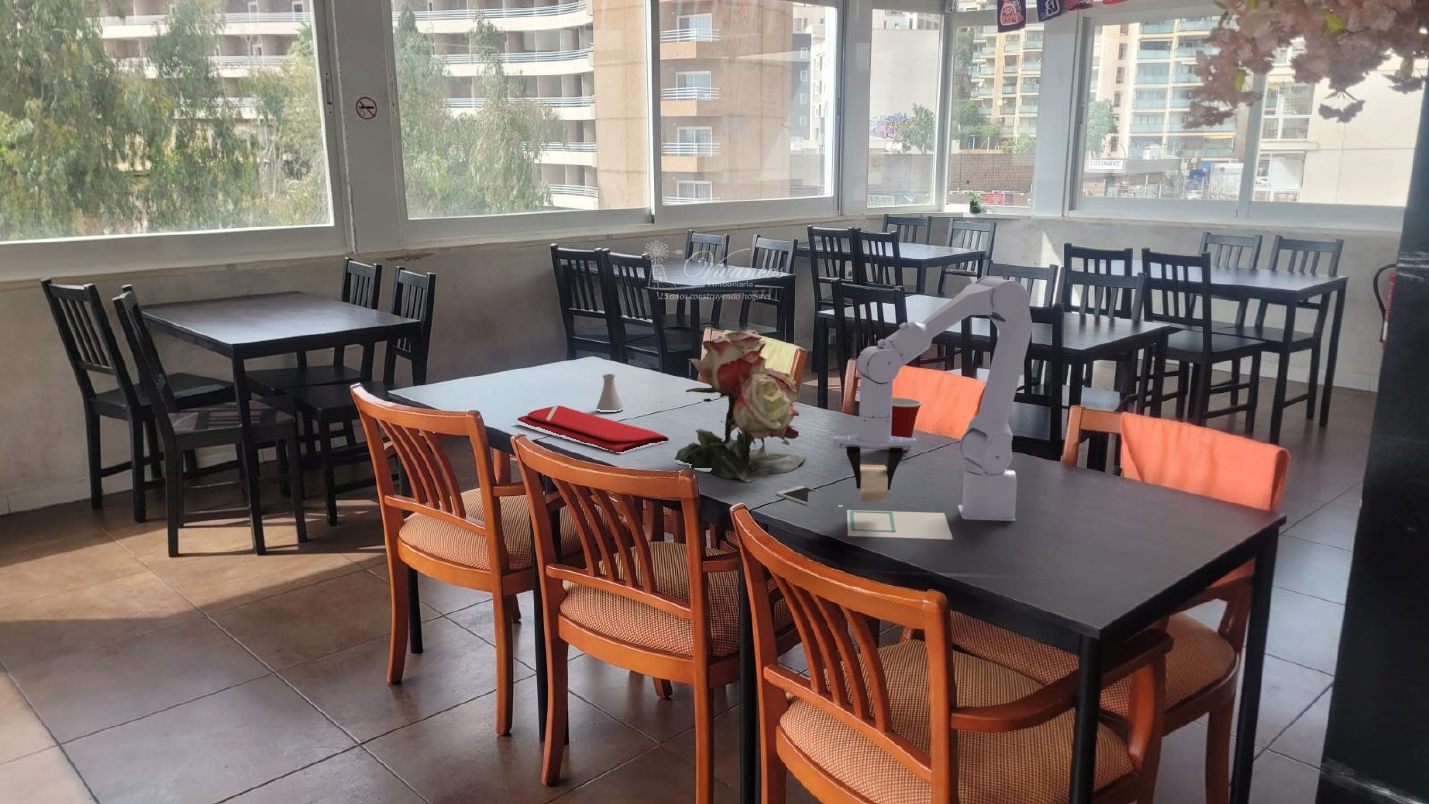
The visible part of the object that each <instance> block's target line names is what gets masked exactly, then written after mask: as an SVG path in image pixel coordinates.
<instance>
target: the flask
mask: <svg viewBox="0 0 1429 804" xmlns="http://www.w3.org/2000/svg"><path fill="white" fill-rule="evenodd" d="M615 377H616V374H613V373H605V374H603V375H602V378H603V385H602V386H603V388H602V391H601V395H600V398H599V399H598V400H599V401H598V403H597V405H596V409H600V410H619V409H621V408H622V407H623V408H624V405H623V404H622V401H621V399H620V396H619V393H618V391H617V388H616V384H615V383H616V382H615Z"/></svg>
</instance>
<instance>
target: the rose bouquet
mask: <svg viewBox="0 0 1429 804" xmlns="http://www.w3.org/2000/svg"><path fill="white" fill-rule="evenodd" d="M762 339H763V338H762V336H760V335H759V332H757V329H756V328H752V327H750V326H749V327H748V326H747V327H746V326H745V327H743V328H740V331H734V330H733V329H731V332H729V333H725V334H724V335H723V336H722V335H718V337H717V338H715V339H711V340H704V341H701V344H702V345H703V350H706V352H707V353H705V354H704V357H703V358H702V360H700V359H698V358H687V361H690V362H691V363H692V364H693V365H694V367H695V368H696V370H697V372H698V373H699V375H700V376H701V377H702V378H703V380H704V381H705V382H706V383H707V384H708V385H709V386H710V387H694V388H688V389H687V390H685V392H686V393H692V392H693V393H701V394H702V393H703V394H716V393H718V394H720V395H719V398H723V397H727V399H728V410H727V413H726V416H725V417H726V418H725V422H724V428H725V429H724V436H725V437H724V440H723V438H721V437H719V436H717V435H715V433H713V431H712V430H711V431H710V430H707V429H704V428H698V429H697V430H695V433H696V434H697V441H699V443H696V442H694V441H693V442H691V443H689V444H688V445H687V446H685V447H683V448H680V449H678V451H677V453H676V456H675V458H674V459H675V460H680V461H682V462H684V463H689V464H692V465H691V468H692V469H694V468H712V470H711V471H710V473H711V474H714V475H716V476H718V477H722V478H726V479H731V480H741V481H742V482H745V483H751V482H754V481H758V480H759V479H760V478H761V479H762V480H763V481H765V482H767V480H765V479H766V478H767V477H768V475H769V474H775V473H777V474H778V473H779V474H781V473H782V474H783V473H784V474H785V473H788V472H791V471H792V470H795V469H797V468H798V467H799V465H801V463H803V461H805V460H806V459H807V456H798V455H795V454H792V453H789V454H783V453H775V452H769V451H768V450H766V448H765V447H766V446H765V438H768V437H770V438H771V439H772V438H775V437H776V438H779V439H781V440H782V441H781V444H783V445H786V446H790V445H791V444H790V442H789V441H788V440H787V439H790V440H794V439H796V438H798V437H799V436H800V435H799V431H798V430H797V429H794V428H796V426H794V425H790V424H791V422H792V421H793V420H794V417H795V416H796V417H799V416H800V413H799V411H798V409H797V407H796V405H794V403H795V402H796V401H798V392H797V388H796V386H795V385H796V384H797V380H796V381H795V380H794V379H793V378H792V377H791V375H790V373H786V372H783V371H779V370H775V369H773V367H768V368H766V362H767V358H765V357H764V356H763V355H762V356H761V354H762V351H763V349H764V347H765V346H766V344H767V343H768V342H767V341H766V340H762ZM702 401H703V402H705V403H706V402H707V403H710V402H712V398H704V399H702ZM660 403H661V404H662V403H663V400H662V401H661V402H660ZM719 422H720V423H723V420H721V421H719ZM737 428H738V429H737ZM734 430H737V435H736V439H733V438H732V437H731V435H732V432H733V431H734ZM785 438H786V439H785ZM755 439H756V440H760V441H761V443H762V445H761V447H760V448H757V449H756V447H757V446H756V442H755ZM752 443H753V445H754V448H755V449H754V450H752V449H751V445H752ZM749 462H750V463H749ZM751 463H752V464H751ZM750 464H751V465H752V466H754V467H753V468H755V469H753V468H752V469H753V470H752V469H751V470H750V468H751V465H750ZM688 468H689V466H688V467H687V469H688ZM692 469H691V470H692ZM749 470H750V471H749ZM750 472H751V473H750ZM710 473H709V474H710Z"/></svg>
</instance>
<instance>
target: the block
mask: <svg viewBox="0 0 1429 804" xmlns="http://www.w3.org/2000/svg"><path fill="white" fill-rule="evenodd" d="M860 481H861V488H860V489H858V490H859V496H860V502H861V503H862V502H867V503H888V491H889V490H888V476H887V467H886V464H860Z"/></svg>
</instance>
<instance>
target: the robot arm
mask: <svg viewBox="0 0 1429 804" xmlns="http://www.w3.org/2000/svg"><path fill="white" fill-rule="evenodd" d="M1031 299H1032V297H1031V295H1030V294H1029V292H1028V291H1027V290H1026V287H1024V285H1022V283H1020V282H1019V281H1016V280H1013V279H1012V280H1009V279H1008V280H1007V279H1004V278H1003V279H1002V278H999V277H998V278H997V277H995V276H993V275H985V276H981V277H980V278H978V279H977V280H976V281H974V282H971V283H970V284H968V285H966V286H965V287H964V289H963V290H962V291H961V292H959V293H958V294H957V295H956V296H954V297H953V298H952V299H951V300H949V301H947V302H946V303H945V304H944V305H943V306H941V307H940V308H938V309H937V310H936V311H934V312H933V313H932V314H931V315H929V316H928V317H927V318H925V319H924V320H923V321H921V322H917V321H910V322H908V323H907V322H902V323H900V324H899V325H898V327H899V329H897V330H896V331H895V332H894V333H892V334H890V335H889V336H887V337H886V338H885V339H883V338H881V339H879V340H878V341H877V346H875V345H873V346H872V345H871V346H868V347H865V348H864V349H863V350H862V351H861V352H859V356H858V358H857V360H855V368H856V370H857V372H858V373H859V375H860V382H859V383H860V384H859V385H860V388H859V409H858V410H859V411H858V413H859V415H858V418H859V419H858V420H859V421H858V434H855V435H851V434H850V435H834V436H833V450H840V449H846V456H847V458H848V460H849V461H848V462H850V465H851V468H852V471H853V474H854V477H855V478H854V479H855V483H856V485H855V486H856V489H857V490H859V489H860V488H861V481H860V465H861V457H862V455H861V449H862V450H884V449H887V451H886V452H887V457H886V459H887V460H886V461H887V463H886V466H887V467H886V471H887V476H888V491H889V490H891V485H892V481H893V477H894V475H895V473H896V470H897V468H898V466H899V465H900V462H901V461H902V459H903V456H904V453H903V450H908V451H909V452H916V451H917V439H916V437H911V438H905V437H896V436H891V422H892V397H893V394H894V393H893V392H894V391H893V389H894V388H893V385H894V384H893V383H894V382H893V381H894V380H895V379H896V378H897V377H898V375H899V373H900V370H901V368H903V367H904V366H906V365H907V364H909V363H910V362H911V361H913V360H914V359H916V358H918V357H919V356H920V355H922V354H923V353H925V352H926V351H927V350H929V349H930V348H931V346H932V341H933V338H935V337H936V336H938V335H940V334H941V333H943V332H945V331H946V330H948V329H950V328H951V327H953V326H954V325H956V324H958V323H959V322H961V321H963V320H965V319H967V318H968V317H969V316H987V317H989V318H990V320H991V321H992V323H993V324H994V325H995V327H996V329H997V330H998V337H997V339H996V344H995V348H994V351H993V355H992V360H991V363H990V368H989V372H988V376H987V378H986V383H985V386H984V391H983V395H982V398H981V403H980V407H979V410H978V414H977V415H976V416H975V417H972V419H971V420H970V421H969V423H968V426H967V429H966V430H965V432H964V434H963V435H962V436H961V437H960V440H959V442H958V443H959V444H958V450H959V452H960V455H961V457H962V458H964V463H963V464H964V465H963V468H964V469H963V485H962V486H963V487H962V503H961V504H958V505H957V508H958V511H959V514H960V516H961V519H963V520H975V521H978V520H979V521H1004V522H1005V521H1009V522H1015V521H1016V506H1017V505H1016V503H1017V486H1018V485H1017V484H1018V482H1017V481H1018V480H1017V474H1016V471H1015V470H1013V469H1007V468H1008V467H1010V464H1011V463H1012V460H1013V450H1012V444H1013V443H1012V442H1013V437H1014V435H1013V433H1012V430H1011V428H1010V425H1009V419H1010V416H1011V412H1012V408H1013V404H1014V400H1015V397H1016V393H1017V389H1018V386H1019V383H1020V382H1019V381H1020V378H1021V374H1022V370H1023V367H1024V363H1025V359H1026V355H1027V351H1028V349H1029V348H1028V346H1029V344H1030V341H1031V336H1032V332H1033V322H1032V316H1031V310H1030V303H1031V302H1030V301H1031Z"/></svg>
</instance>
